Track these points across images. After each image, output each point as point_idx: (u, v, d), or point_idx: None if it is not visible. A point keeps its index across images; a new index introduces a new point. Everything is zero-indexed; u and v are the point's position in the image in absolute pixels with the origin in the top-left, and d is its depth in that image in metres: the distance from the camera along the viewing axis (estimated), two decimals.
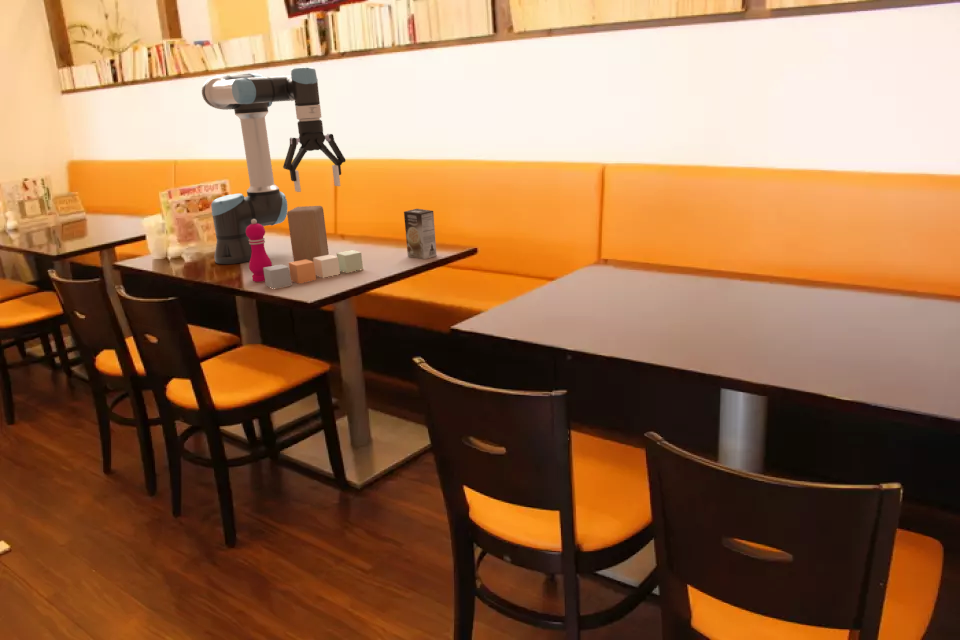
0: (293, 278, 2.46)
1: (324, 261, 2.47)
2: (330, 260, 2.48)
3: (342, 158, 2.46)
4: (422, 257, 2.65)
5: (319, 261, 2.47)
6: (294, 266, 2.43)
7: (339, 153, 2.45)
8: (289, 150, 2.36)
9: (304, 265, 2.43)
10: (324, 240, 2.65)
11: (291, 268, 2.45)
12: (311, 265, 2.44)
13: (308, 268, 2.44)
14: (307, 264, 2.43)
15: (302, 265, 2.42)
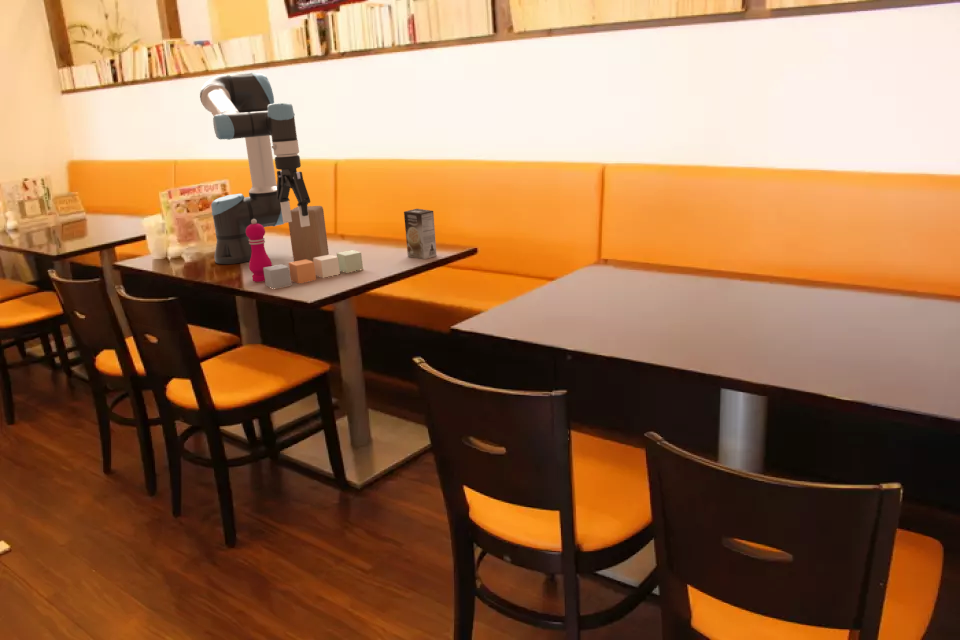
0: (293, 278, 2.46)
1: (324, 261, 2.47)
2: (330, 260, 2.48)
3: (301, 199, 2.31)
4: (422, 257, 2.65)
5: (319, 261, 2.47)
6: (294, 266, 2.43)
7: (299, 193, 2.31)
8: None
9: (304, 265, 2.43)
10: (325, 240, 2.65)
11: (291, 268, 2.45)
12: (311, 265, 2.44)
13: (308, 268, 2.44)
14: (307, 264, 2.43)
15: (302, 265, 2.42)
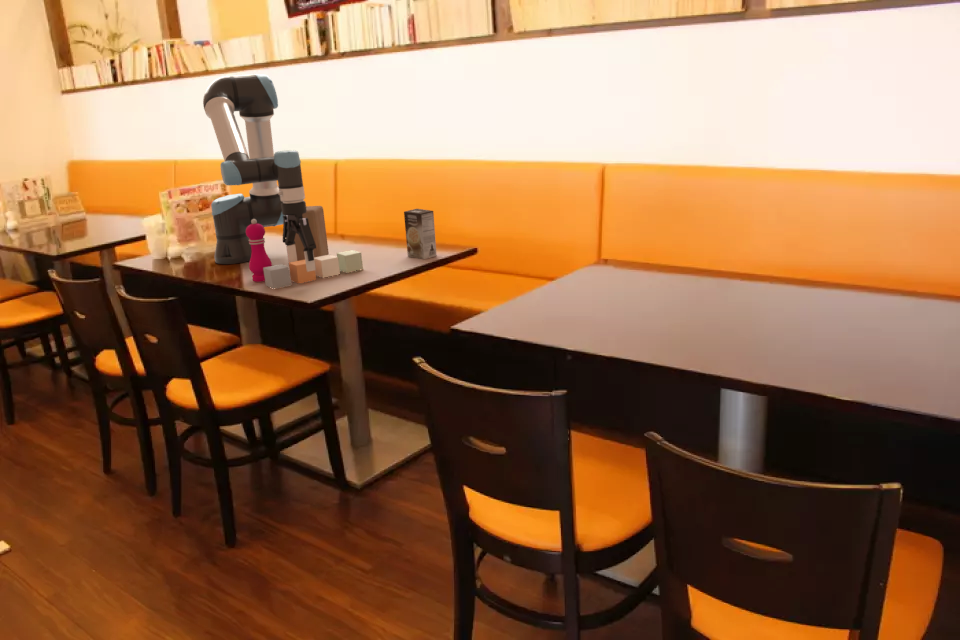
0: (293, 278, 2.45)
1: (324, 261, 2.47)
2: (330, 260, 2.48)
3: (307, 245, 2.35)
4: (422, 257, 2.65)
5: (319, 261, 2.47)
6: (294, 266, 2.42)
7: (305, 239, 2.35)
8: None
9: (304, 265, 2.43)
10: (325, 240, 2.65)
11: (291, 268, 2.45)
12: None
13: None
14: None
15: (302, 265, 2.42)
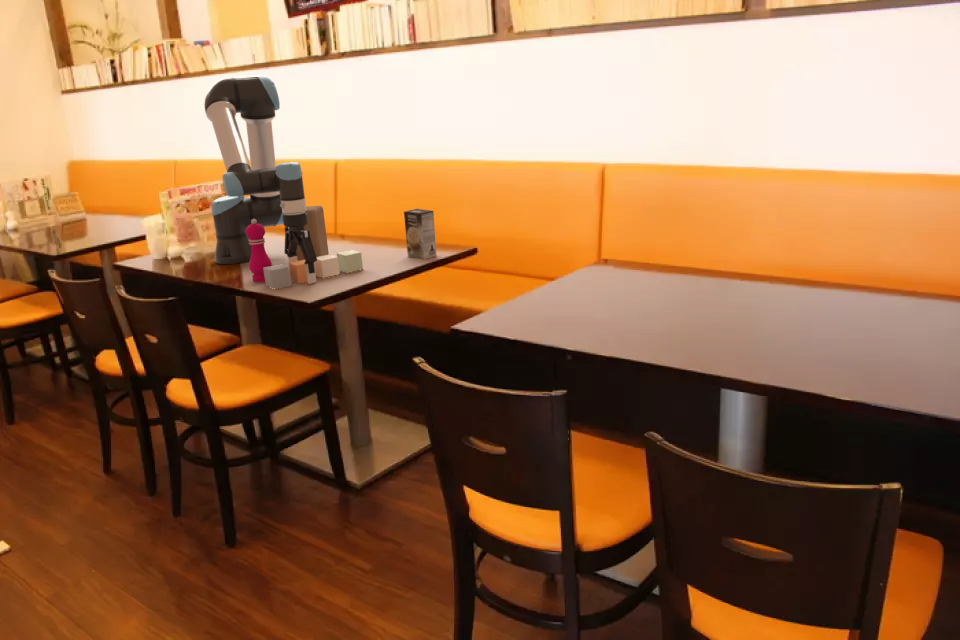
0: (293, 278, 2.46)
1: (324, 261, 2.47)
2: (330, 260, 2.48)
3: (308, 258, 2.37)
4: (422, 257, 2.65)
5: (319, 261, 2.47)
6: (294, 266, 2.43)
7: (306, 252, 2.37)
8: None
9: (304, 265, 2.43)
10: (324, 240, 2.65)
11: (291, 268, 2.45)
12: None
13: None
14: None
15: (302, 265, 2.42)
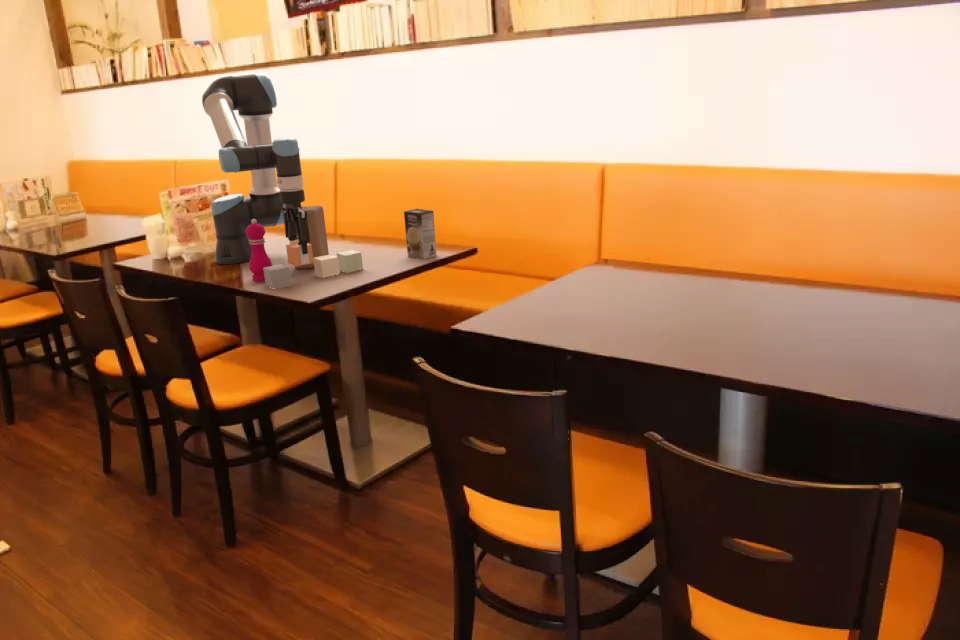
0: (290, 261, 2.44)
1: (324, 261, 2.47)
2: (330, 260, 2.48)
3: (301, 238, 2.38)
4: (422, 257, 2.65)
5: (319, 261, 2.47)
6: (291, 248, 2.41)
7: (300, 232, 2.37)
8: None
9: None
10: (325, 240, 2.65)
11: (288, 250, 2.44)
12: (308, 248, 2.43)
13: None
14: None
15: None
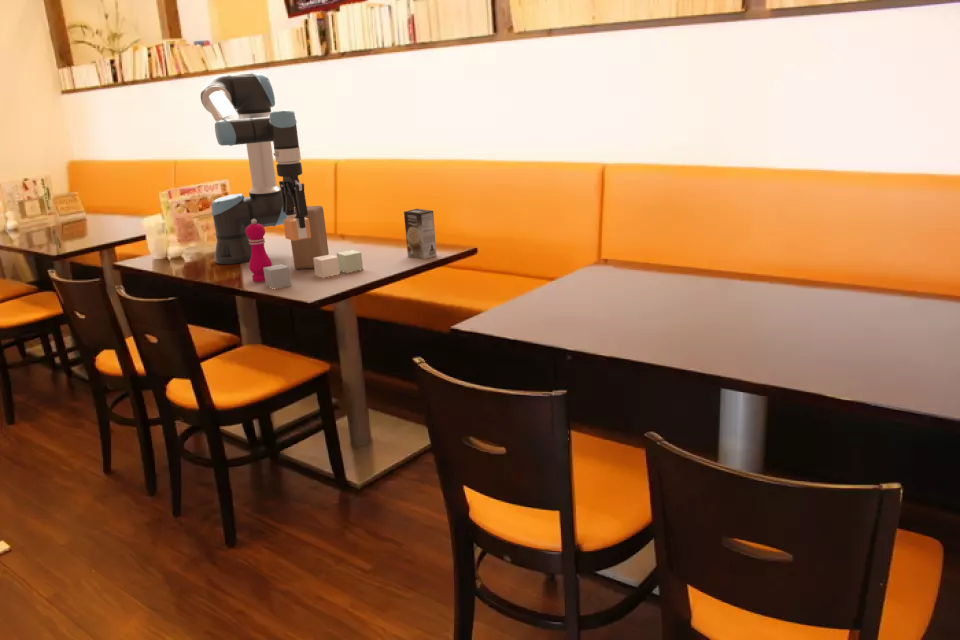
0: (288, 235, 2.41)
1: (324, 261, 2.47)
2: (330, 260, 2.48)
3: (299, 212, 2.34)
4: (422, 257, 2.65)
5: (319, 261, 2.47)
6: (289, 222, 2.38)
7: (298, 206, 2.34)
8: None
9: None
10: (324, 240, 2.65)
11: (286, 225, 2.40)
12: (306, 222, 2.40)
13: None
14: None
15: None
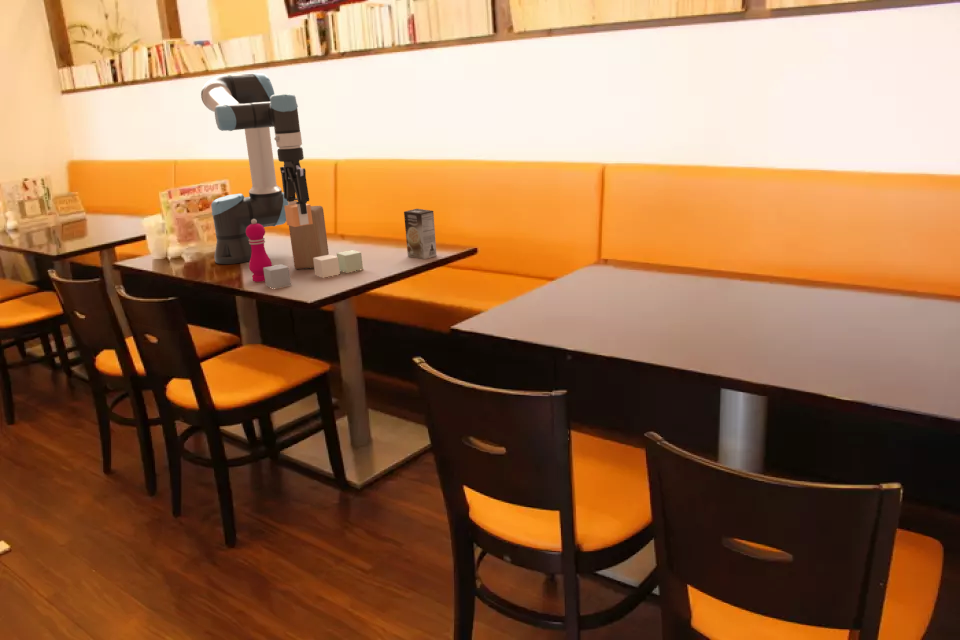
0: (289, 221, 2.38)
1: (324, 261, 2.47)
2: (330, 260, 2.48)
3: (300, 197, 2.31)
4: (422, 257, 2.65)
5: (319, 261, 2.47)
6: (290, 208, 2.35)
7: (299, 191, 2.31)
8: None
9: None
10: (324, 240, 2.65)
11: (287, 211, 2.37)
12: (307, 208, 2.36)
13: None
14: None
15: None
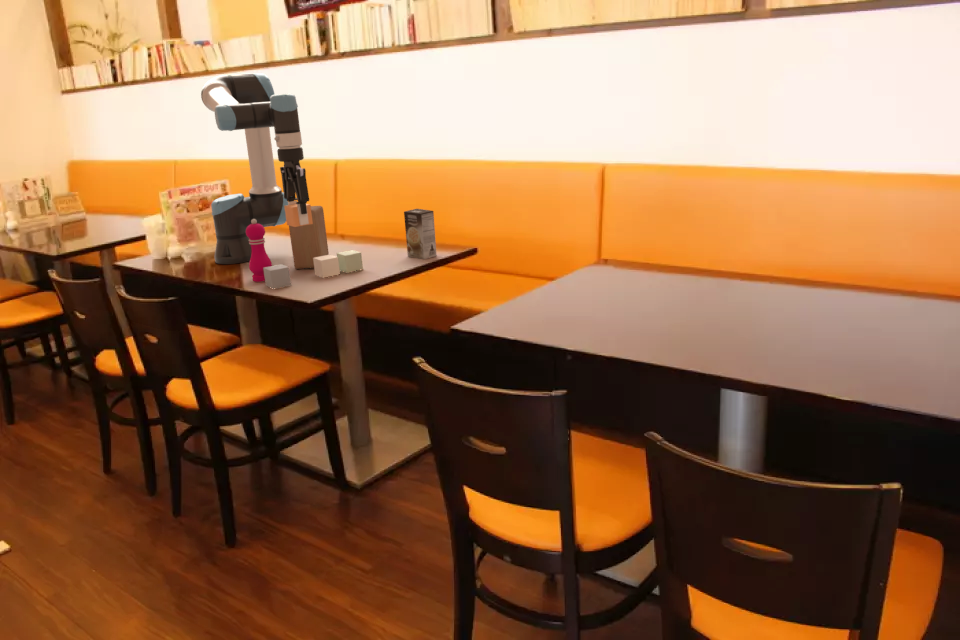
0: (289, 221, 2.38)
1: (324, 261, 2.47)
2: (330, 260, 2.48)
3: (300, 197, 2.31)
4: (422, 257, 2.65)
5: (319, 261, 2.47)
6: (290, 208, 2.35)
7: (299, 191, 2.31)
8: None
9: None
10: (324, 240, 2.65)
11: (287, 211, 2.37)
12: (307, 208, 2.36)
13: None
14: None
15: None
